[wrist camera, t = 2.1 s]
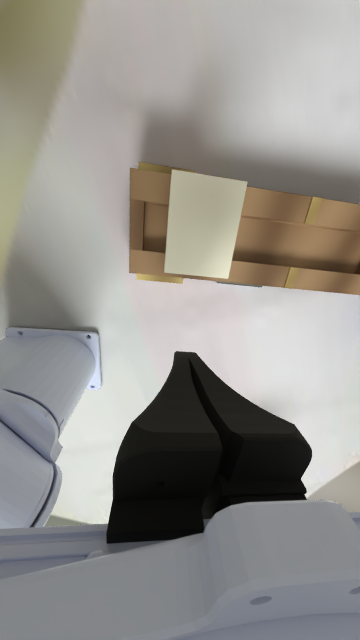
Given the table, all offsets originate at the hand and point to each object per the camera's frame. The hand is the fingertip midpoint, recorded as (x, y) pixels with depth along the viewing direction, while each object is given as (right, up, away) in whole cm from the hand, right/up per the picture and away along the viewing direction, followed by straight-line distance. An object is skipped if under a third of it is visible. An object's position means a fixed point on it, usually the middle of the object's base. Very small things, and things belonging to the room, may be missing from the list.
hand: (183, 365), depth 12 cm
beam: (+7, +11, +7) cm, 14 cm away
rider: (+1, +10, +3) cm, 10 cm away
